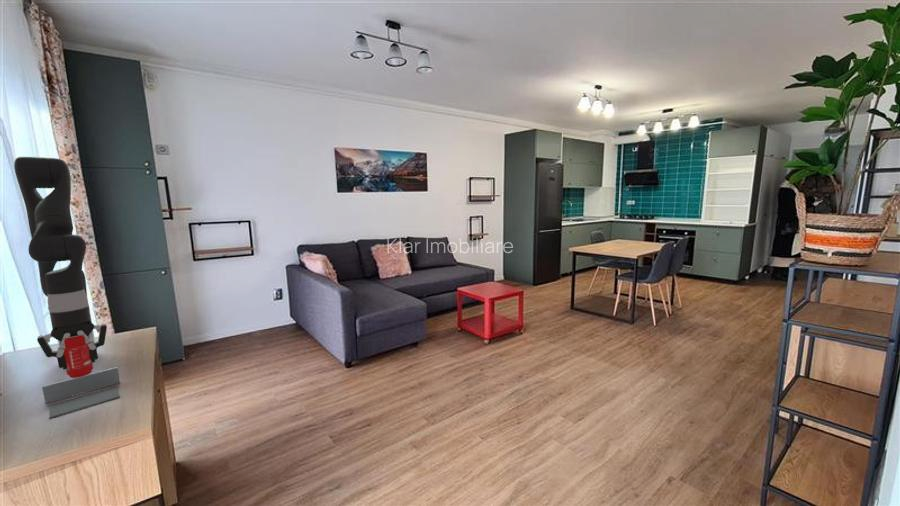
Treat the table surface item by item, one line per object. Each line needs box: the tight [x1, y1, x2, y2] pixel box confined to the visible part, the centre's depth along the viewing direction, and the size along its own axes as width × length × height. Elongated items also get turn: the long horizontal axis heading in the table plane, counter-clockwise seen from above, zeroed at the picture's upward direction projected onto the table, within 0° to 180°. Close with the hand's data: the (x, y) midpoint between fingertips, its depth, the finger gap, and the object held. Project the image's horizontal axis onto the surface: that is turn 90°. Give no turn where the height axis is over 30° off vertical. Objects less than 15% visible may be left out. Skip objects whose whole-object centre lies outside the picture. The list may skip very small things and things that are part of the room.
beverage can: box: [63, 335, 94, 379], centre depth 103 cm, size 5×5×12 cm
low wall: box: [41, 366, 121, 404], centre depth 110 cm, size 1×16×5 cm, turn 137°
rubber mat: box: [48, 385, 121, 419], centre depth 105 cm, size 9×14×1 cm, turn 137°
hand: (79, 364), depth 103 cm, fingers closed on beverage can, 5 cm apart
